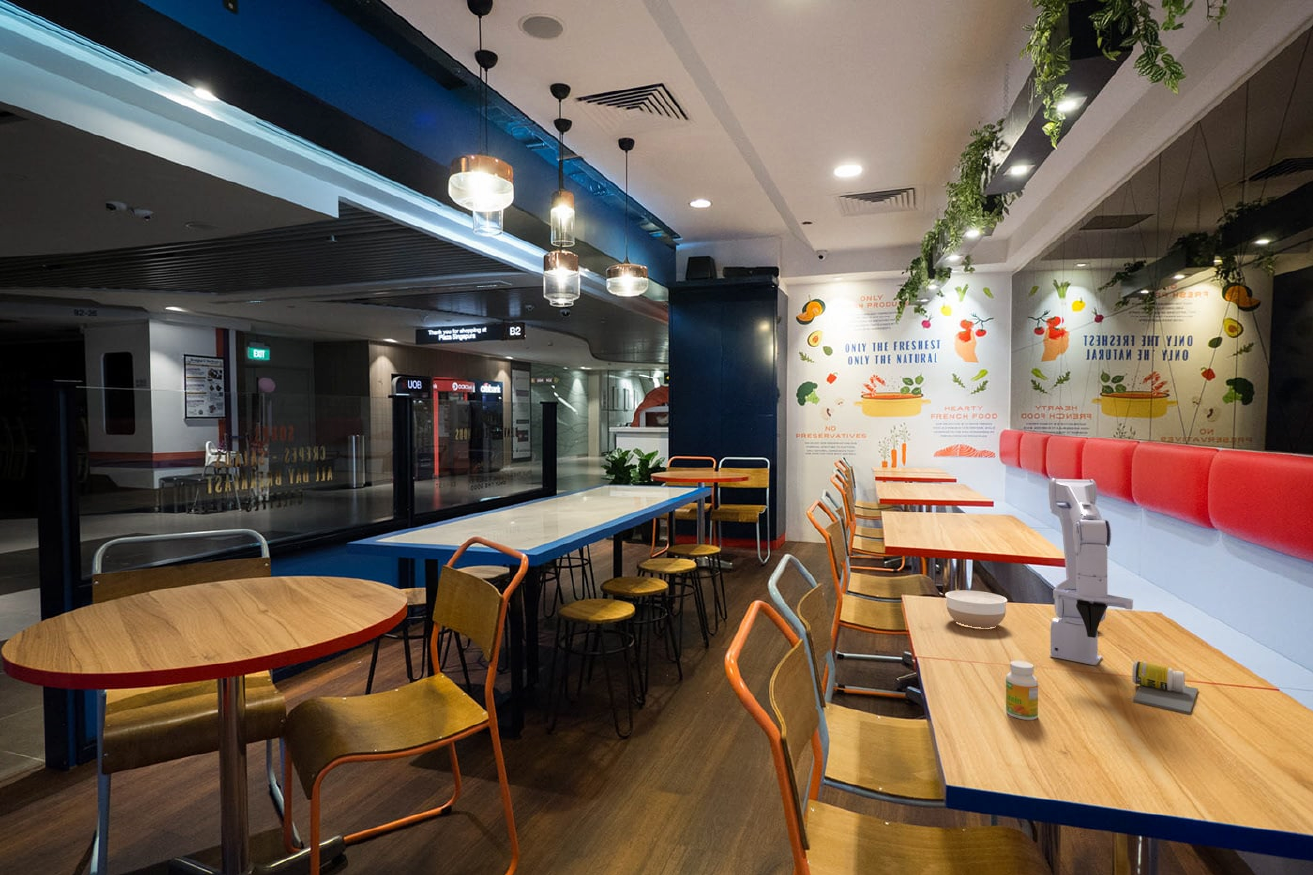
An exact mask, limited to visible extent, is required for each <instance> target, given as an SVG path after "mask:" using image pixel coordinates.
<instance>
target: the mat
mask: <svg viewBox="0 0 1313 875" xmlns="http://www.w3.org/2000/svg"><path fill="white" fill-rule="evenodd" d="M1198 690H1199V689H1198V688H1197V687H1191V686H1187V685H1185V689H1184V692H1180V691H1175V689H1172V690H1171V691H1167V690H1162V689H1157V688H1153V687H1148V686H1143V685H1140V686H1139V687H1138V689H1137V691H1136V693H1135V694H1134V696H1133V698H1132V703H1133V702H1134V703H1136V704H1141V705H1146V706H1150V707H1151V706H1152V707H1155V708H1160V709H1165V710H1169V711H1173V712H1178V713H1182V714H1187V715H1191V713H1192V710H1193V707H1194V704H1195V701H1196V699H1197V695H1198V692H1199V691H1198Z"/></svg>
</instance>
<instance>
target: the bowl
mask: <svg viewBox="0 0 1313 875" xmlns="http://www.w3.org/2000/svg"><path fill="white" fill-rule="evenodd" d="M944 596H945V598H946V609H947V610H946V611H947V613H948V614H949V616H950V617H951V618H952V620H954V622H955V621H956V622H958V623H961V624H964V625H968V626H972V627H981V628H990V627H995V626H997V627H998V625H1000V623H1002V622H1003V620H1004V618H1005V617H1006V612H1007V607H1006V605H1007V603H1008V599H1007V598H1006V597H1005V596H1004V595H1003V596H1002V595H1000V594H997V593H992V592H986V591H981V590H967V589H965V590H962V589H960V590H950V591H948V592H945V594H944Z"/></svg>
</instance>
